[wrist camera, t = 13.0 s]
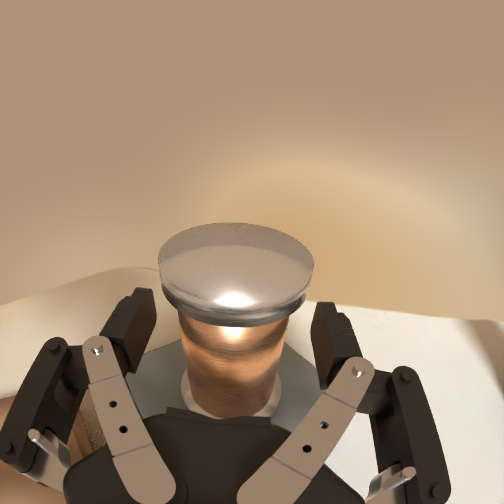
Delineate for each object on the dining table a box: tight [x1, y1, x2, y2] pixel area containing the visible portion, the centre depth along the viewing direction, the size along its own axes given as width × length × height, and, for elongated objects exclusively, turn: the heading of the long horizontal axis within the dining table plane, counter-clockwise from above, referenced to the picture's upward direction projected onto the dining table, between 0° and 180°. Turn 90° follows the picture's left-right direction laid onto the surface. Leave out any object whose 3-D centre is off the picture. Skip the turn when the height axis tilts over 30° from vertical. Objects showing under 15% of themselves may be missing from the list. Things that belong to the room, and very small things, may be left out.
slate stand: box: [125, 339, 326, 432], centre depth 18 cm, size 13×13×4 cm
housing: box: [158, 223, 314, 419], centre depth 14 cm, size 7×7×11 cm
